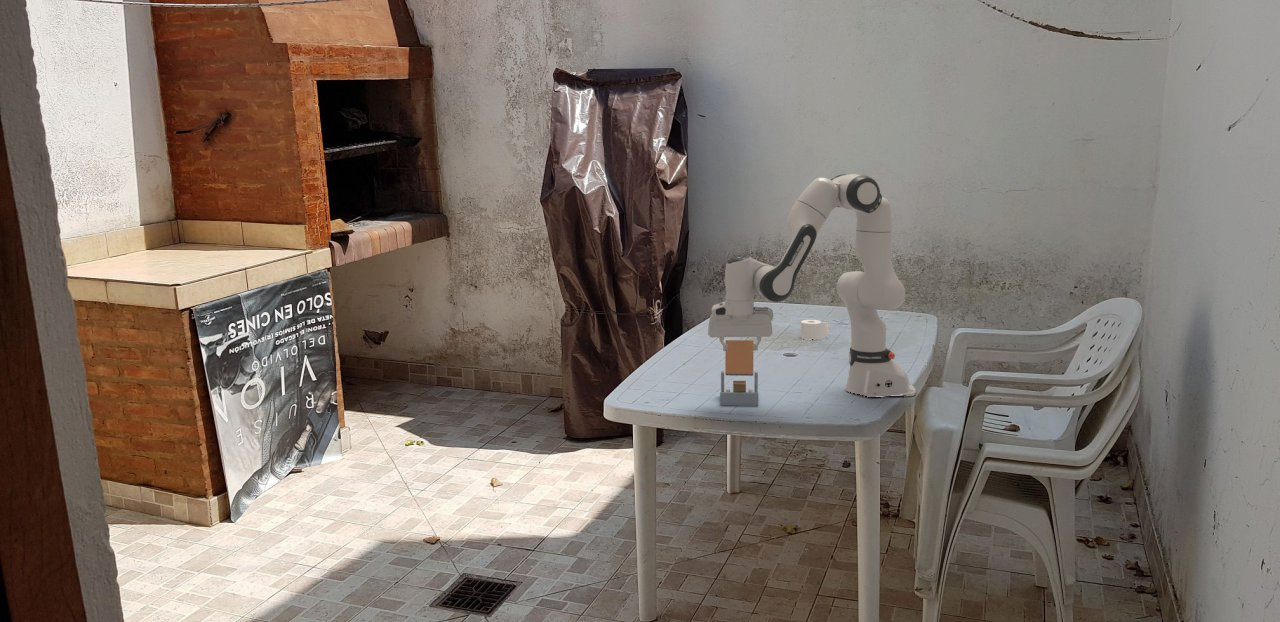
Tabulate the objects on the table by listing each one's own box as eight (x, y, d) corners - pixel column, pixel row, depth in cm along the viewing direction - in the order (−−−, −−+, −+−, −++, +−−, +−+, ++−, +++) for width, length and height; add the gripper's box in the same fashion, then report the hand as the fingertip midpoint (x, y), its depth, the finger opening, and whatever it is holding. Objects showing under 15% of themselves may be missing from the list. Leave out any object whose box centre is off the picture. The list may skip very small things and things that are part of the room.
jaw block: (745, 399, 310) (745, 384, 309) (733, 399, 311) (733, 383, 310) (745, 395, 314) (745, 380, 313) (733, 395, 315) (733, 380, 314)
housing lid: (753, 375, 317) (753, 375, 317) (753, 340, 316) (753, 340, 317) (725, 375, 318) (725, 375, 318) (725, 340, 317) (725, 340, 318)
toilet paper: (829, 337, 402) (830, 320, 400) (813, 341, 394) (813, 324, 393) (813, 334, 408) (813, 317, 406) (796, 338, 400) (797, 321, 399)
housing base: (757, 396, 319) (757, 371, 318) (758, 405, 309) (758, 380, 307) (720, 395, 320) (720, 371, 319) (720, 405, 310) (720, 380, 308)
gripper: (772, 304, 309) (773, 347, 312) (707, 306, 311) (708, 348, 314) (773, 309, 303) (774, 352, 305) (707, 310, 305) (708, 353, 308)
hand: (740, 350), depth 310 cm, fingers open, 8 cm apart
